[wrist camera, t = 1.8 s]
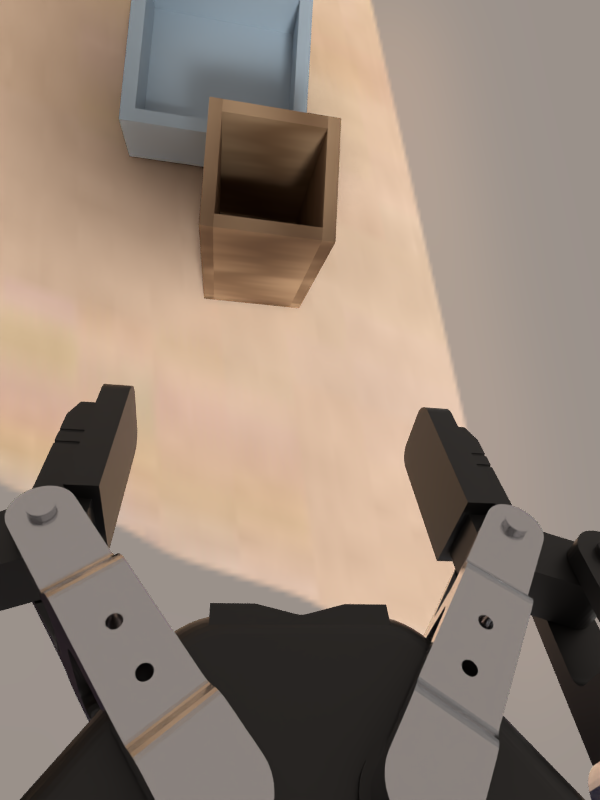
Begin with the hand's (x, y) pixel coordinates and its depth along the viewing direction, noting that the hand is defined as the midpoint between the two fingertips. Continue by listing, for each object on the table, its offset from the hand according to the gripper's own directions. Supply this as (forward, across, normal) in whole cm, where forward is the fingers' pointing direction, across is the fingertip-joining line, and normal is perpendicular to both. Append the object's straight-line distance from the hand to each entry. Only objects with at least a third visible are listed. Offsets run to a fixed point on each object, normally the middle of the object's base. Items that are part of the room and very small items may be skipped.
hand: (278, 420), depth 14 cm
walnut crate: (+20, 0, +3) cm, 20 cm away
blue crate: (+28, +3, -4) cm, 28 cm away
